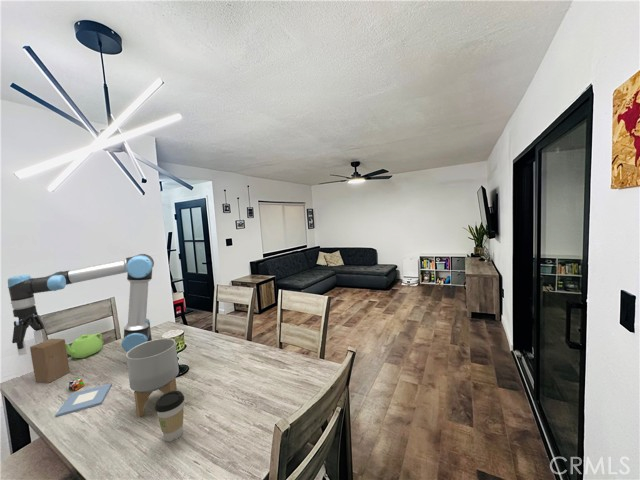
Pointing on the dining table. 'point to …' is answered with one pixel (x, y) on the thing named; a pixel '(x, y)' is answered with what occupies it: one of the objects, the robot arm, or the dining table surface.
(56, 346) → the wooden block
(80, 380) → the rubik's cube
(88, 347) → the teapot
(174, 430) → the coffee cup
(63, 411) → the plate
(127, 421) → the dining table surface
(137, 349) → the planter
